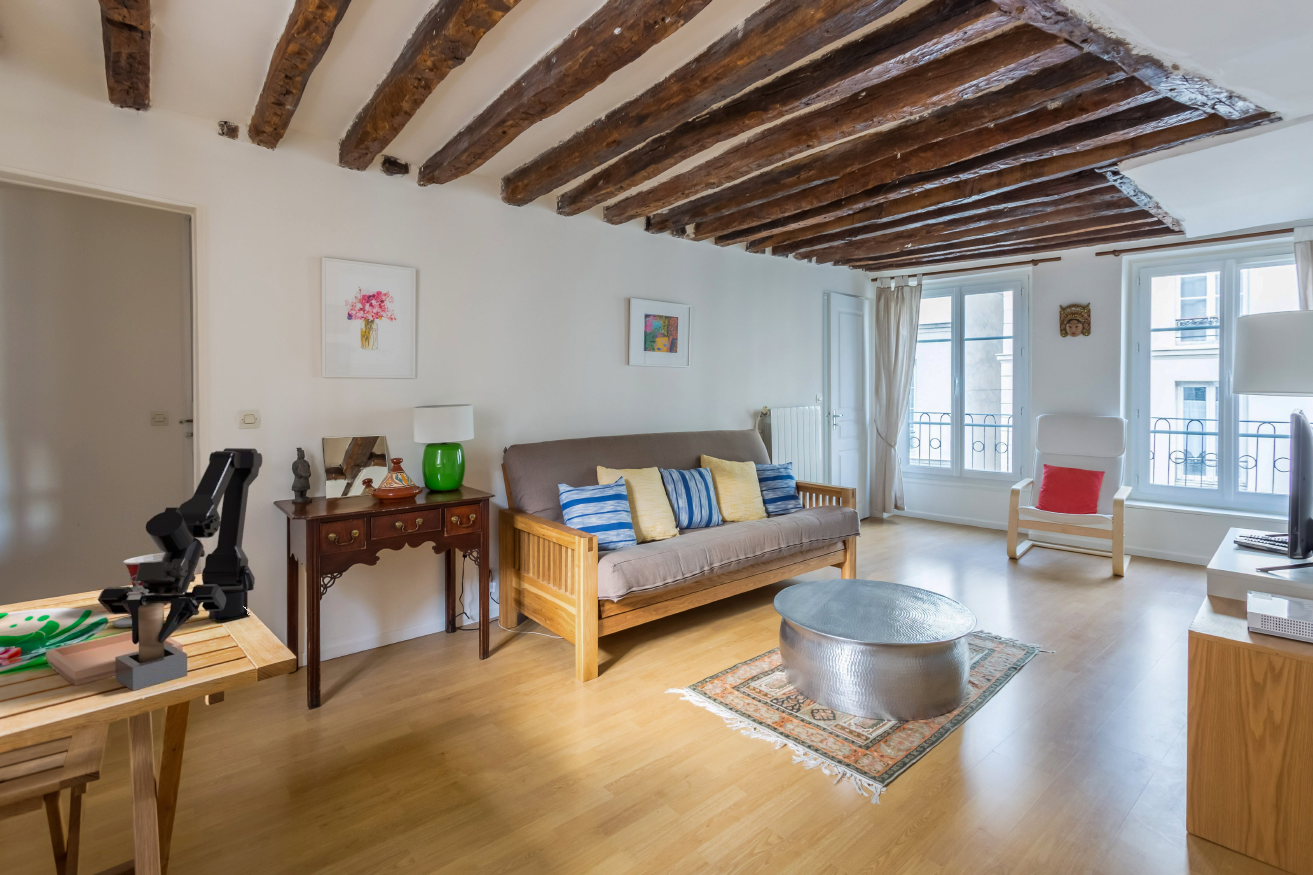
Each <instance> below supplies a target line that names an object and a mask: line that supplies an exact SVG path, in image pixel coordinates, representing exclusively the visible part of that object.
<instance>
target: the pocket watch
mask: <svg viewBox="0 0 1313 875" xmlns="http://www.w3.org/2000/svg"><path fill="white" fill-rule="evenodd" d="M135 576H136V575H135ZM135 576H132V577H131V576H130V579H129V580H130V582H131V583H132V582H133V583H135V584H136V585H135V586H133V585H132V586H129V587H130V588H131V589H132V590H133V591H134V592H143V593H148V591H149V590H148V589H144V588H143V586H139V585H138V583H140V582H141V581H132V578H133V577H135ZM112 626H113V627H115V628H132V618H131V614H127V616H123V617H120V618H117V619H115V620H114V621H112Z"/></svg>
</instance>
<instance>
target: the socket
mask: <svg viewBox="0 0 1313 875" xmlns="http://www.w3.org/2000/svg"><path fill="white" fill-rule="evenodd" d="M115 668H116V675H115V680H116V681H118V682H119V683H121V684H122V685H123V686H125V687H126V688H128V689H129V690H130V691H132V692H134V691H139V690H142V689H145V688H148V687H152V686H155V685H160V684H162V683H166V682H169V681H174V680H176V679H179V678H183V677H187V676H188V653H186V652H185V651H184V650H183V651H181V650H179V649H177V648H175V647H174V646H172V645H170V644H166V645H164V657H163V658H159V659H155V660H151V661H148V662H144V663H139V651H138V652H134V653H130V654H125V655H121V656H117V657H115Z"/></svg>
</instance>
